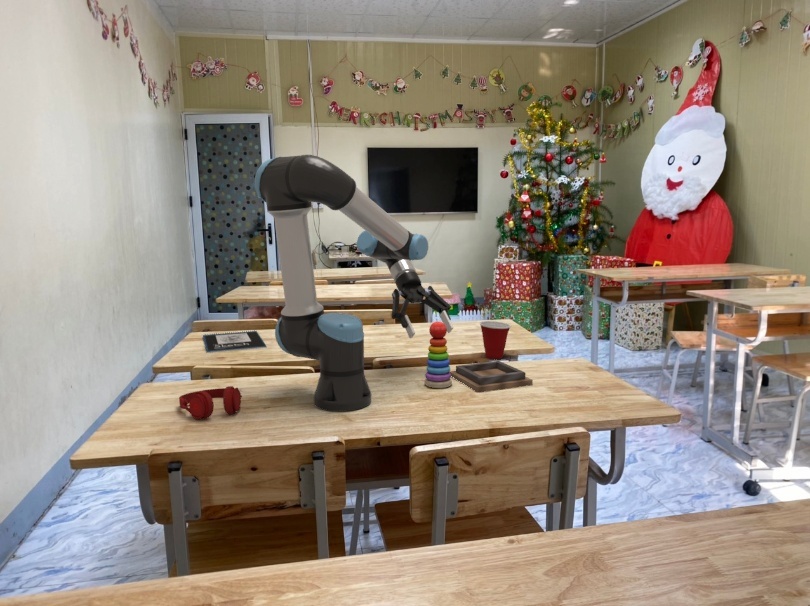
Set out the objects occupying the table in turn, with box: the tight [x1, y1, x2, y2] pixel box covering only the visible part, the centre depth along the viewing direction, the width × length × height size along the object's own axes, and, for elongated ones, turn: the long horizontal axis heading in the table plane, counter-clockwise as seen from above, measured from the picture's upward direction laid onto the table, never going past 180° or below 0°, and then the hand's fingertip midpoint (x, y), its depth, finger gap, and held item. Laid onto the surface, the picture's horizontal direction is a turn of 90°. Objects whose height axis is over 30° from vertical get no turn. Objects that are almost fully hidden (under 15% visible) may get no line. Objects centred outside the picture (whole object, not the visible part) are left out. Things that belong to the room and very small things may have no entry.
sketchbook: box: [202, 329, 268, 354], centre depth 233 cm, size 22×30×2 cm
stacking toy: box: [424, 321, 453, 389], centre depth 171 cm, size 8×8×19 cm
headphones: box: [179, 385, 243, 420], centre depth 154 cm, size 15×7×20 cm
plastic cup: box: [479, 320, 512, 360], centre depth 204 cm, size 11×11×12 cm
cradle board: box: [450, 360, 534, 393], centre depth 177 cm, size 18×18×4 cm
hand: (432, 333), depth 176 cm, fingers open, 13 cm apart
